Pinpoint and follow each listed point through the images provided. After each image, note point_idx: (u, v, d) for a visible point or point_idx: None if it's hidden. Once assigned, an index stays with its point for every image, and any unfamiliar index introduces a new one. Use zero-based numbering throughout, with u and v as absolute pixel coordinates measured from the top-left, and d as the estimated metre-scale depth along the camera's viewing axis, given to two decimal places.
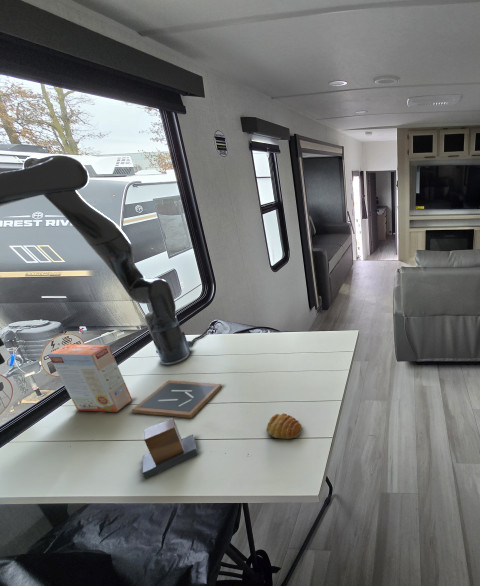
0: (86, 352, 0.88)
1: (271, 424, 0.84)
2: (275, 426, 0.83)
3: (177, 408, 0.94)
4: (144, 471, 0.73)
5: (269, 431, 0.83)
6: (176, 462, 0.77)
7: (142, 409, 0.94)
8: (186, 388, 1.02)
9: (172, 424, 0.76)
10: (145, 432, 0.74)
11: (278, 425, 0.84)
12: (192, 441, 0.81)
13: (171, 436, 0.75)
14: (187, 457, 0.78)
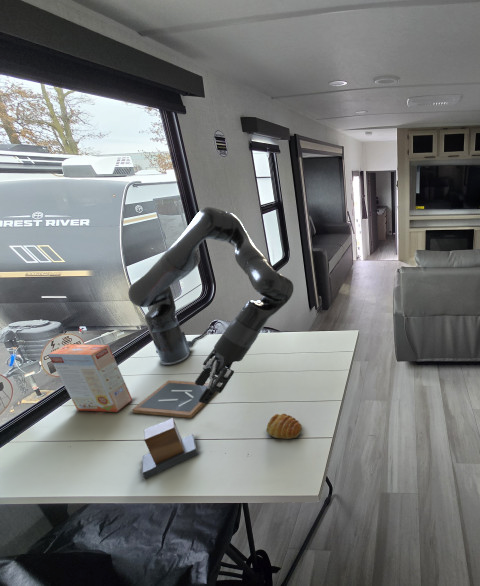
0: (86, 352, 0.88)
1: (271, 424, 0.84)
2: (275, 426, 0.83)
3: (177, 408, 0.94)
4: (144, 471, 0.73)
5: (269, 431, 0.83)
6: (176, 462, 0.77)
7: (142, 409, 0.94)
8: (186, 388, 1.02)
9: (172, 424, 0.76)
10: (145, 432, 0.74)
11: (278, 425, 0.83)
12: (192, 441, 0.81)
13: (171, 436, 0.75)
14: (187, 457, 0.78)
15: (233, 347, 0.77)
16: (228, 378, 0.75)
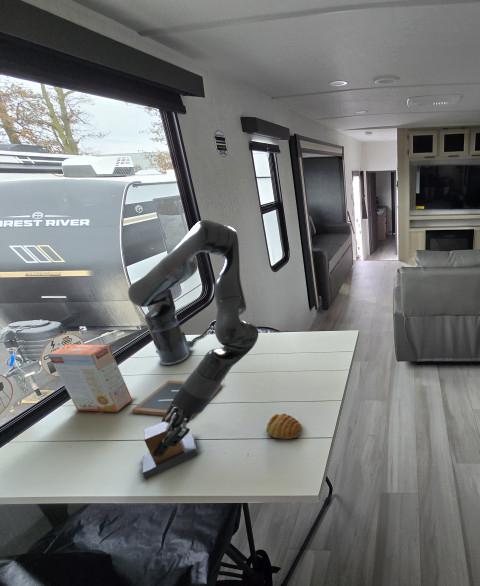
0: (86, 352, 0.88)
1: (271, 424, 0.84)
2: (275, 426, 0.83)
3: None
4: (144, 471, 0.73)
5: (269, 431, 0.83)
6: (176, 462, 0.77)
7: (142, 409, 0.94)
8: None
9: None
10: (145, 432, 0.74)
11: (278, 425, 0.83)
12: (192, 441, 0.81)
13: None
14: (187, 457, 0.78)
15: (192, 400, 0.74)
16: (182, 436, 0.73)
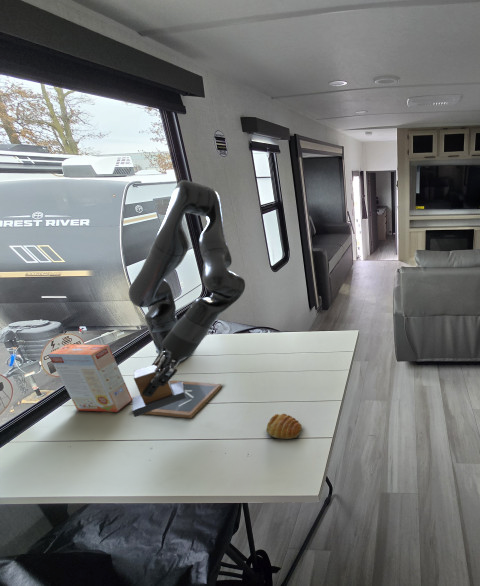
0: (86, 352, 0.88)
1: (271, 424, 0.84)
2: (275, 426, 0.83)
3: (177, 408, 0.94)
4: (134, 409, 0.77)
5: (269, 431, 0.83)
6: (165, 404, 0.80)
7: None
8: (186, 388, 1.02)
9: None
10: (135, 373, 0.78)
11: (278, 425, 0.83)
12: (181, 386, 0.84)
13: None
14: (175, 400, 0.82)
15: (180, 342, 0.78)
16: (170, 376, 0.76)
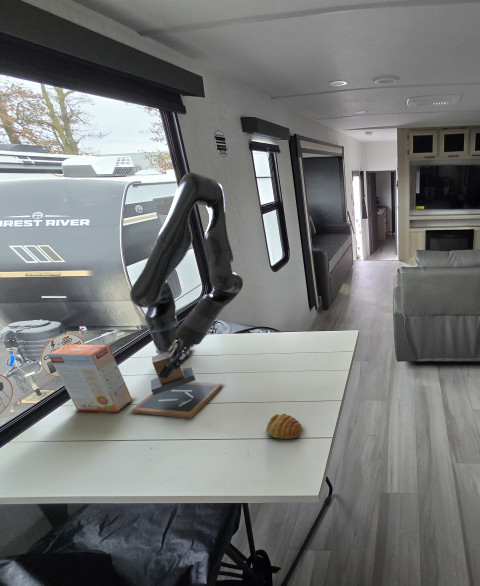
0: (86, 352, 0.88)
1: (271, 424, 0.84)
2: (275, 426, 0.83)
3: (177, 408, 0.94)
4: (152, 389, 0.91)
5: (269, 431, 0.83)
6: (178, 384, 0.95)
7: (142, 409, 0.94)
8: (186, 388, 1.02)
9: None
10: (153, 358, 0.92)
11: (277, 425, 0.83)
12: (191, 370, 0.99)
13: None
14: (187, 381, 0.96)
15: (191, 332, 0.92)
16: (183, 360, 0.91)
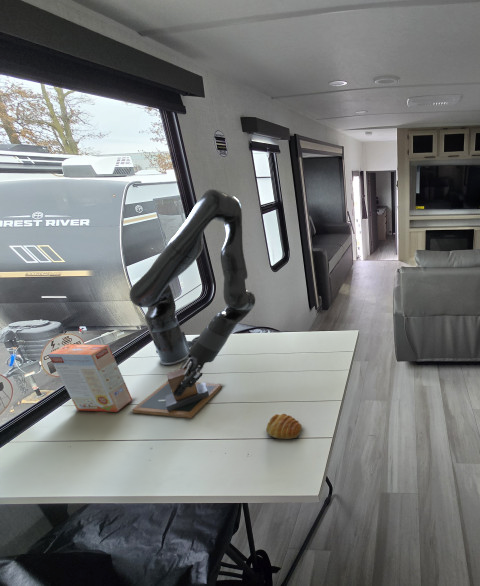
0: (86, 352, 0.88)
1: (271, 424, 0.84)
2: (275, 426, 0.83)
3: (177, 408, 0.94)
4: (167, 405, 0.92)
5: (269, 431, 0.83)
6: (192, 401, 0.96)
7: (142, 409, 0.94)
8: None
9: None
10: (168, 375, 0.93)
11: (277, 425, 0.83)
12: (204, 386, 1.00)
13: None
14: (201, 397, 0.97)
15: (204, 350, 0.93)
16: (197, 379, 0.92)
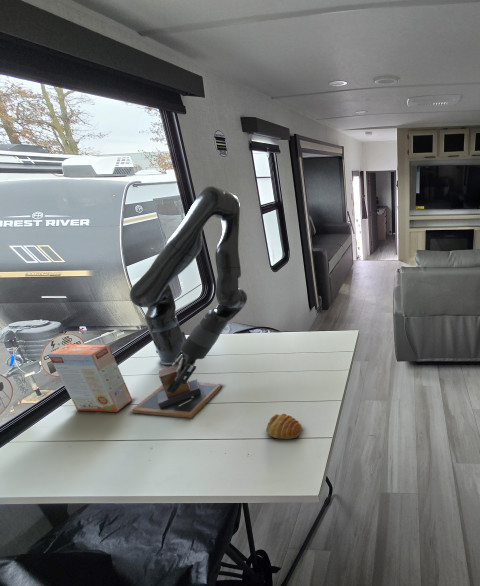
0: (86, 352, 0.88)
1: (271, 424, 0.84)
2: (275, 426, 0.83)
3: (177, 408, 0.94)
4: (159, 402, 0.93)
5: (269, 431, 0.83)
6: (184, 398, 0.97)
7: (142, 409, 0.94)
8: None
9: None
10: (160, 372, 0.94)
11: (277, 425, 0.83)
12: (196, 383, 1.01)
13: None
14: (192, 394, 0.98)
15: (196, 347, 0.95)
16: (191, 372, 0.93)
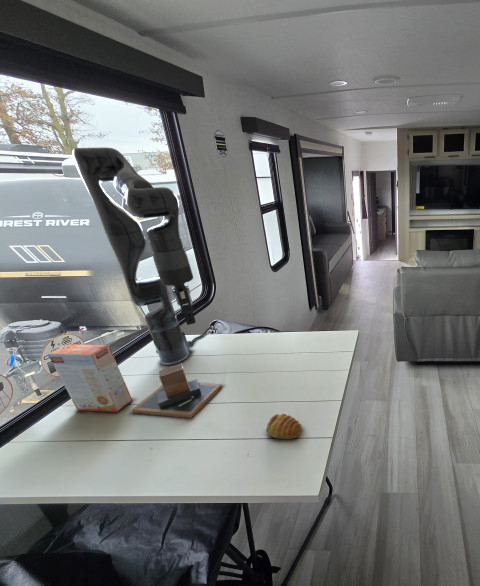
0: (86, 352, 0.88)
1: (271, 424, 0.84)
2: (274, 426, 0.83)
3: (177, 408, 0.94)
4: (159, 402, 0.93)
5: (269, 431, 0.83)
6: (184, 398, 0.97)
7: (142, 409, 0.94)
8: None
9: (181, 367, 0.96)
10: (160, 372, 0.94)
11: (277, 425, 0.83)
12: (196, 383, 1.01)
13: (180, 376, 0.96)
14: (192, 394, 0.98)
15: (170, 274, 0.81)
16: (187, 297, 0.82)
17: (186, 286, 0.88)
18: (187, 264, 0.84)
